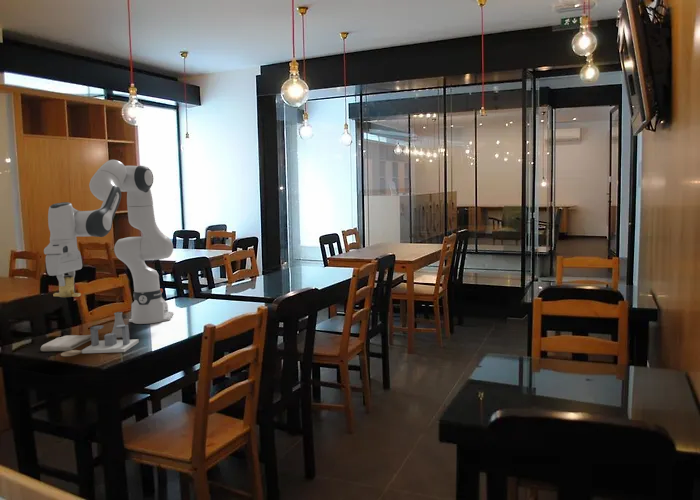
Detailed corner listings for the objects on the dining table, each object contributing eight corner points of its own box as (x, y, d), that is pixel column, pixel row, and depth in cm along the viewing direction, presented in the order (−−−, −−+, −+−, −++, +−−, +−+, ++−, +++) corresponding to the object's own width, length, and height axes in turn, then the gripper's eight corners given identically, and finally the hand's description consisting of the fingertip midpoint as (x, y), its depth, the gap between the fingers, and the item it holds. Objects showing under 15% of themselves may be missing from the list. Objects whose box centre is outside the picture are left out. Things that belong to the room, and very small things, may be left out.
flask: (123, 338, 239) (121, 314, 238) (107, 338, 241) (105, 314, 240) (133, 334, 246) (131, 310, 245) (117, 334, 248) (115, 310, 247)
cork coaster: (66, 351, 222) (66, 350, 222) (84, 350, 222) (84, 349, 222) (57, 356, 215) (56, 355, 215) (75, 356, 215) (75, 355, 215)
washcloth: (93, 340, 241) (92, 332, 240) (70, 352, 223) (69, 344, 222) (65, 341, 241) (64, 333, 241) (40, 353, 223) (39, 345, 223)
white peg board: (98, 343, 233) (96, 322, 232) (138, 342, 232) (137, 321, 231) (81, 353, 219) (79, 331, 218) (124, 352, 218) (122, 329, 217)
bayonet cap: (58, 294, 219) (57, 274, 219) (82, 295, 219) (82, 274, 218) (50, 297, 214) (49, 276, 214) (75, 297, 214) (74, 276, 213)
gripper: (68, 245, 225) (71, 281, 226) (41, 249, 205) (44, 289, 206) (85, 244, 225) (88, 280, 226) (59, 249, 205) (62, 288, 206)
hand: (67, 284), depth 216 cm, fingers closed on bayonet cap, 5 cm apart
